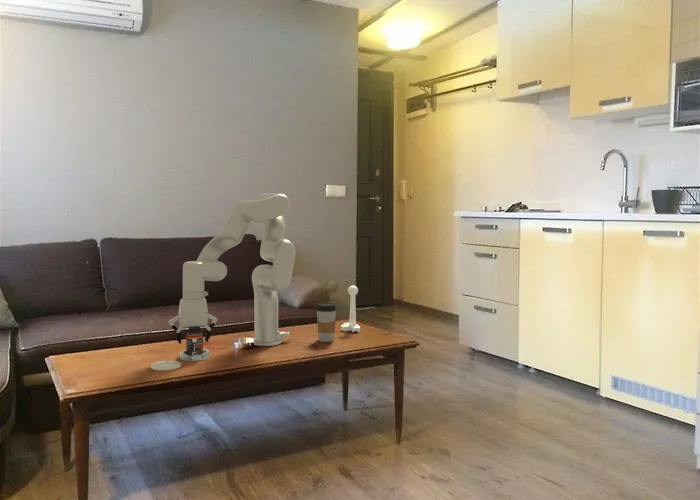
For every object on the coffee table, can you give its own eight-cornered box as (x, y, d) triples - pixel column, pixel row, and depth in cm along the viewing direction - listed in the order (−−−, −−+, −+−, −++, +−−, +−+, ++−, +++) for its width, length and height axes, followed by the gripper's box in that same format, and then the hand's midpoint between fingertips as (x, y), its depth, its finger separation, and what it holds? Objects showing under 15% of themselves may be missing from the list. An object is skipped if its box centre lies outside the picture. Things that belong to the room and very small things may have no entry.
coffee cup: (334, 343, 236) (334, 306, 235) (314, 342, 237) (314, 305, 236) (338, 338, 244) (338, 302, 243) (318, 337, 245) (318, 302, 244)
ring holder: (206, 352, 220) (206, 345, 220) (211, 359, 211) (211, 352, 211) (178, 355, 216) (178, 348, 216) (182, 362, 207) (182, 355, 207)
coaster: (179, 361, 209) (178, 359, 209) (182, 368, 199) (182, 366, 199) (149, 364, 205) (149, 362, 205) (152, 371, 195) (152, 370, 195)
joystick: (362, 332, 255) (362, 287, 254) (346, 333, 252) (346, 288, 251) (352, 327, 266) (352, 283, 264) (336, 328, 263) (337, 284, 261)
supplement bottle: (198, 360, 210) (198, 329, 209) (183, 358, 211) (182, 328, 210) (206, 355, 216) (205, 325, 215) (191, 354, 217) (190, 324, 216)
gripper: (215, 293, 218) (215, 338, 220) (167, 294, 211) (167, 341, 213) (219, 296, 212) (219, 342, 213) (169, 298, 205) (169, 346, 206)
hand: (193, 341), depth 213 cm, fingers open, 9 cm apart
